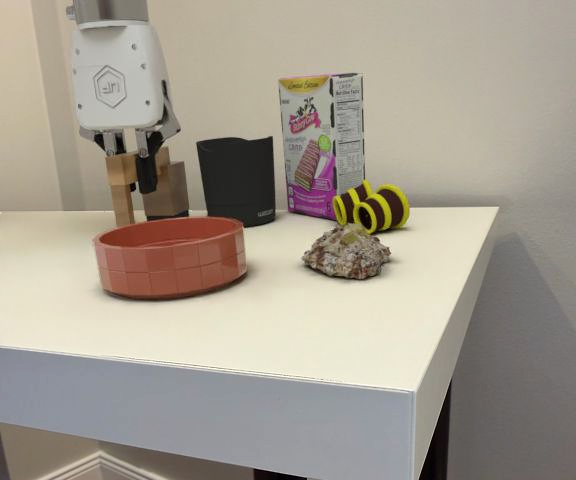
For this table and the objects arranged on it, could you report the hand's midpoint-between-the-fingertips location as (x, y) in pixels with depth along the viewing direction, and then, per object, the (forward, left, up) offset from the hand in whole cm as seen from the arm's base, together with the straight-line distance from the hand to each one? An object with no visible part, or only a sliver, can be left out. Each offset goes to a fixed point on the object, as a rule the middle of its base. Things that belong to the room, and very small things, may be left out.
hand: (138, 191), depth 77 cm
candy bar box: (+19, +13, -6) cm, 24 cm away
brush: (0, +3, -5) cm, 5 cm away
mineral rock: (+27, -13, -6) cm, 31 cm away
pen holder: (+9, +9, -6) cm, 14 cm away
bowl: (+12, -18, -5) cm, 23 cm away
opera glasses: (+27, +4, -6) cm, 27 cm away
